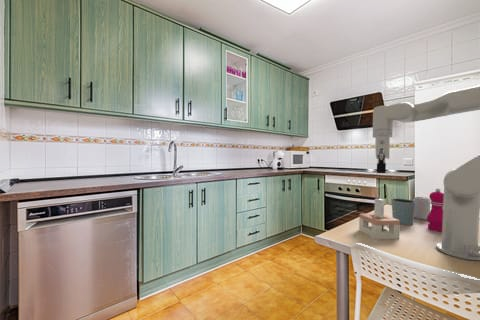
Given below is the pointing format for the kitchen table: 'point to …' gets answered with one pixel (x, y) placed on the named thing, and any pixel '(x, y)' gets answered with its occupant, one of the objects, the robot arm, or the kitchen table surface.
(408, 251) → the kitchen table surface
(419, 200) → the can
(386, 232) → the collar stand
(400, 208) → the grey teal tapered bin
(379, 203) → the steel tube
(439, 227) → the pepper mill
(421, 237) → the kitchen table surface
